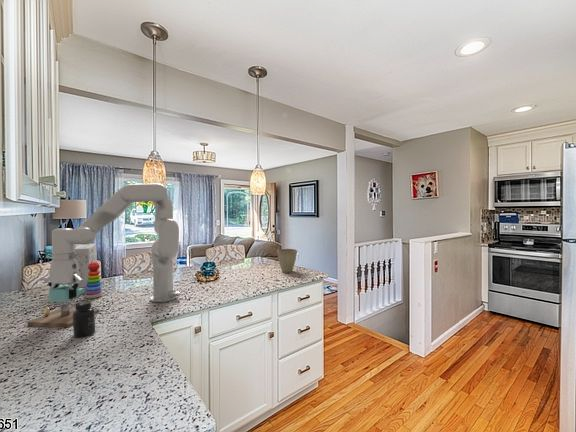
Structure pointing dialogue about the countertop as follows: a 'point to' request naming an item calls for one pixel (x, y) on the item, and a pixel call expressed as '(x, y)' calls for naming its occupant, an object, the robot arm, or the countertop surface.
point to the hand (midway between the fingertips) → (64, 297)
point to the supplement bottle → (83, 319)
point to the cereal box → (85, 261)
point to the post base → (57, 318)
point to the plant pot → (287, 259)
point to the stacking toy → (93, 282)
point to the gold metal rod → (46, 312)
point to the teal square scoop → (62, 293)
